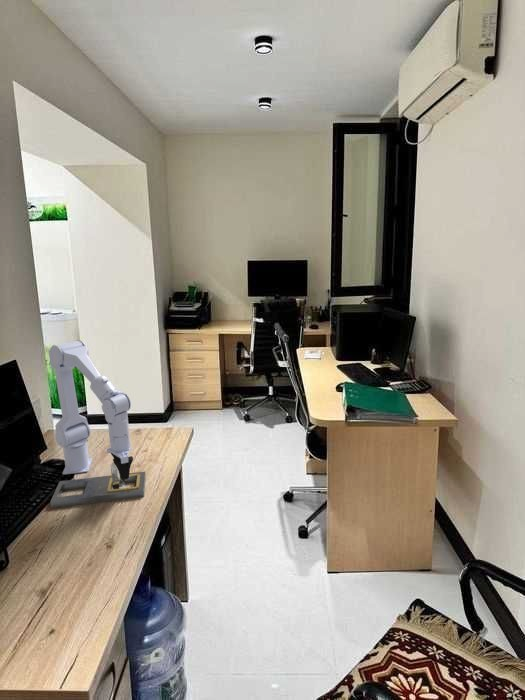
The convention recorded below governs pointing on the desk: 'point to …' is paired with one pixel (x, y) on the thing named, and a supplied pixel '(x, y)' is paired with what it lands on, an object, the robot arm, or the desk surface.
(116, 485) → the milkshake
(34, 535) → the desk surface
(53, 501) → the grey board with holes
